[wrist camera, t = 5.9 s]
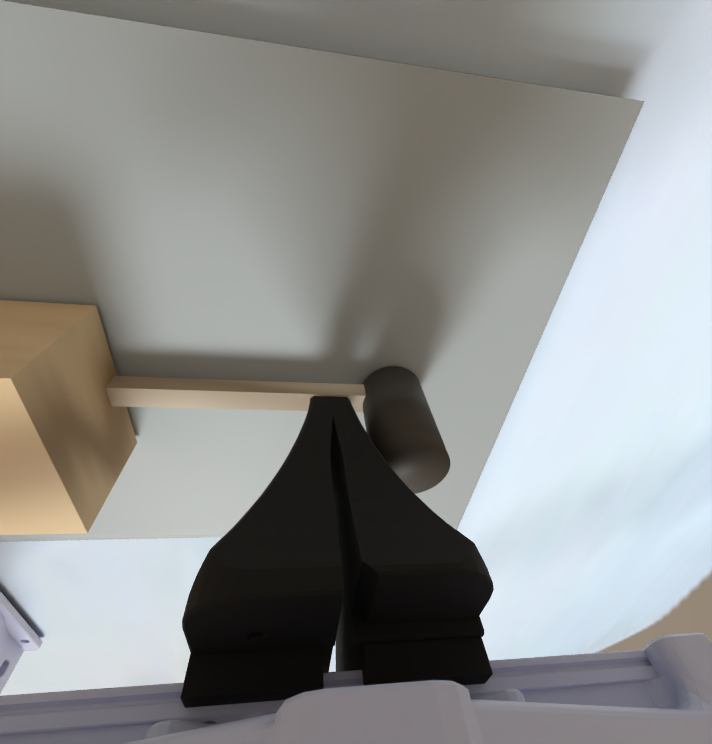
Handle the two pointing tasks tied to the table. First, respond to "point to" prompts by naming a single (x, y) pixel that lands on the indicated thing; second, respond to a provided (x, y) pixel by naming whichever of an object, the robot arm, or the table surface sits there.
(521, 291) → the lane
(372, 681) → the robot arm
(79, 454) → the wooden mallet
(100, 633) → the table surface
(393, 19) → the table surface
